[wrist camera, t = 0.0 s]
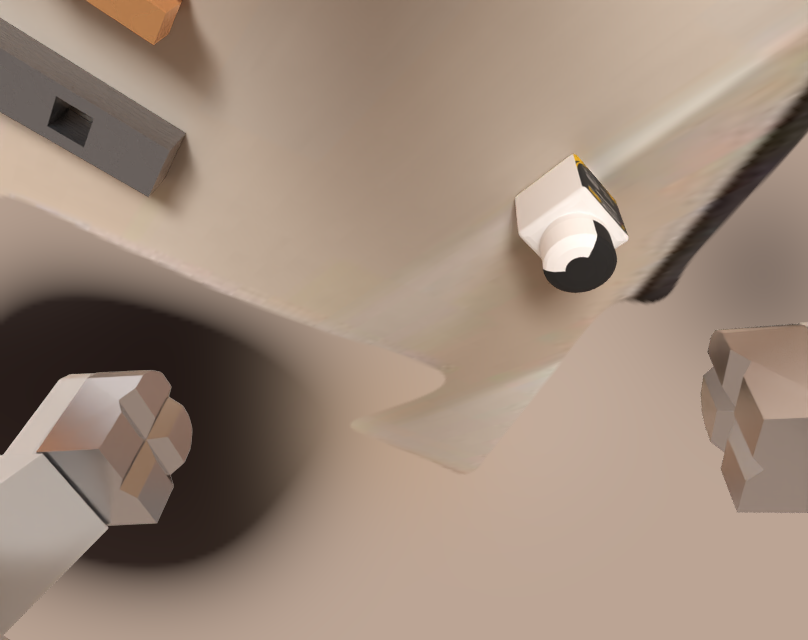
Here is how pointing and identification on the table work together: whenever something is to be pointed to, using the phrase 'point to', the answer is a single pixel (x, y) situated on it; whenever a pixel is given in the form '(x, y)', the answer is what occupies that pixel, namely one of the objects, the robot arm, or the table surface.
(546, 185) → the medicine bottle
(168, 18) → the wooden arch block
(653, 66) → the table surface
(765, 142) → the table surface
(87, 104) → the rail
